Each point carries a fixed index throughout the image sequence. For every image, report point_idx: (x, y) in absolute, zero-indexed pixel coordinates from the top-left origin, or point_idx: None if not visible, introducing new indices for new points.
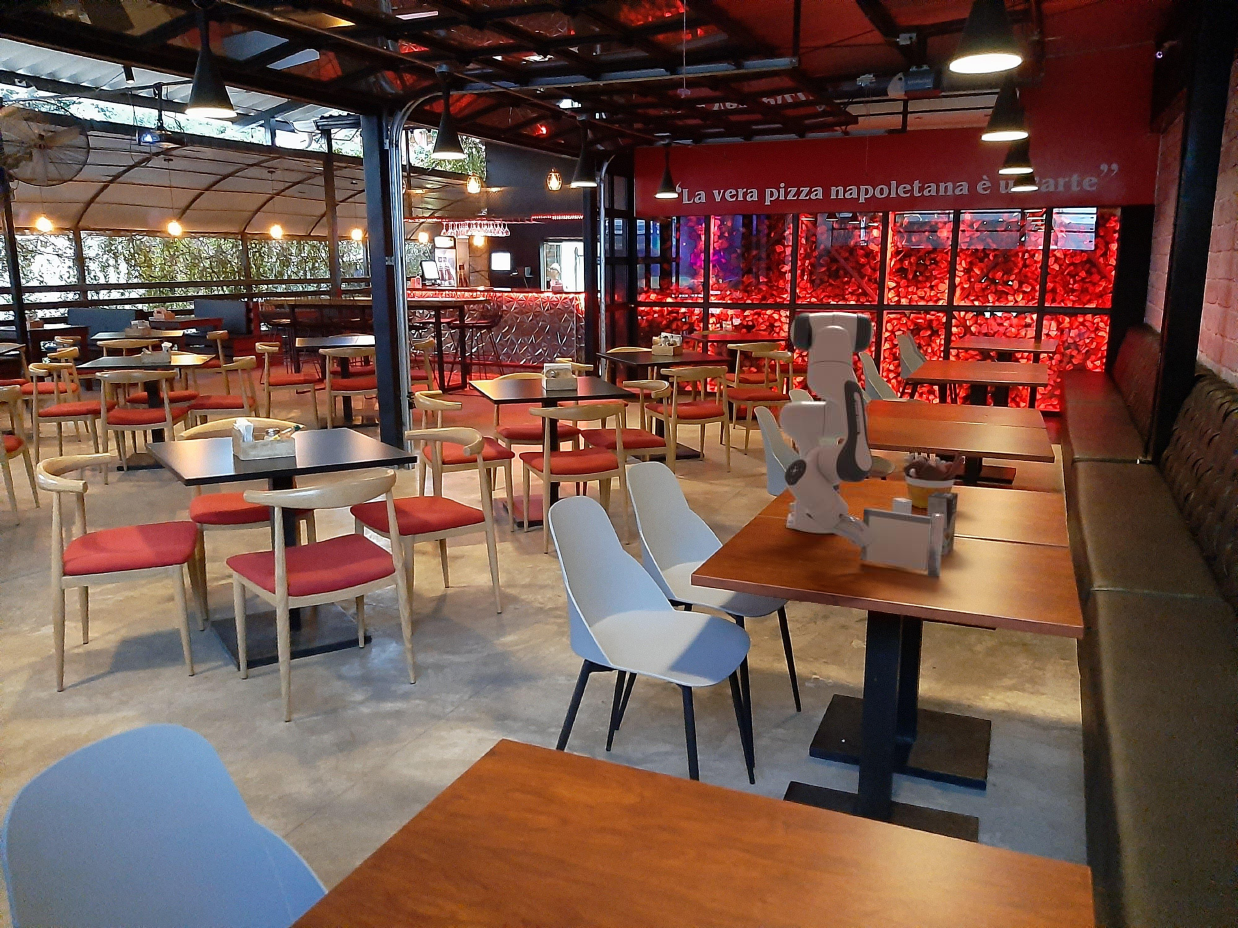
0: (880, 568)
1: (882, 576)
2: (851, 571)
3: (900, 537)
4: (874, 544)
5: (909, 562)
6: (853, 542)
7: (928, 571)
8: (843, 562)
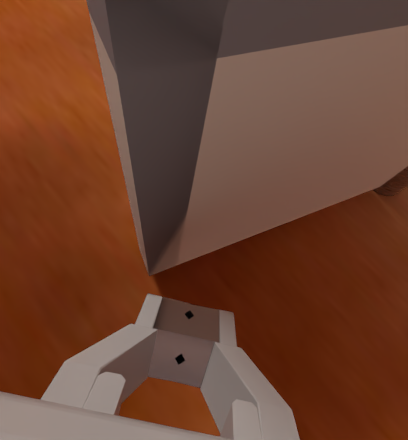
0: (244, 260)
1: (334, 346)
2: (213, 430)
3: (390, 133)
4: (222, 217)
5: (347, 192)
6: (168, 379)
7: (393, 186)
8: (82, 337)
